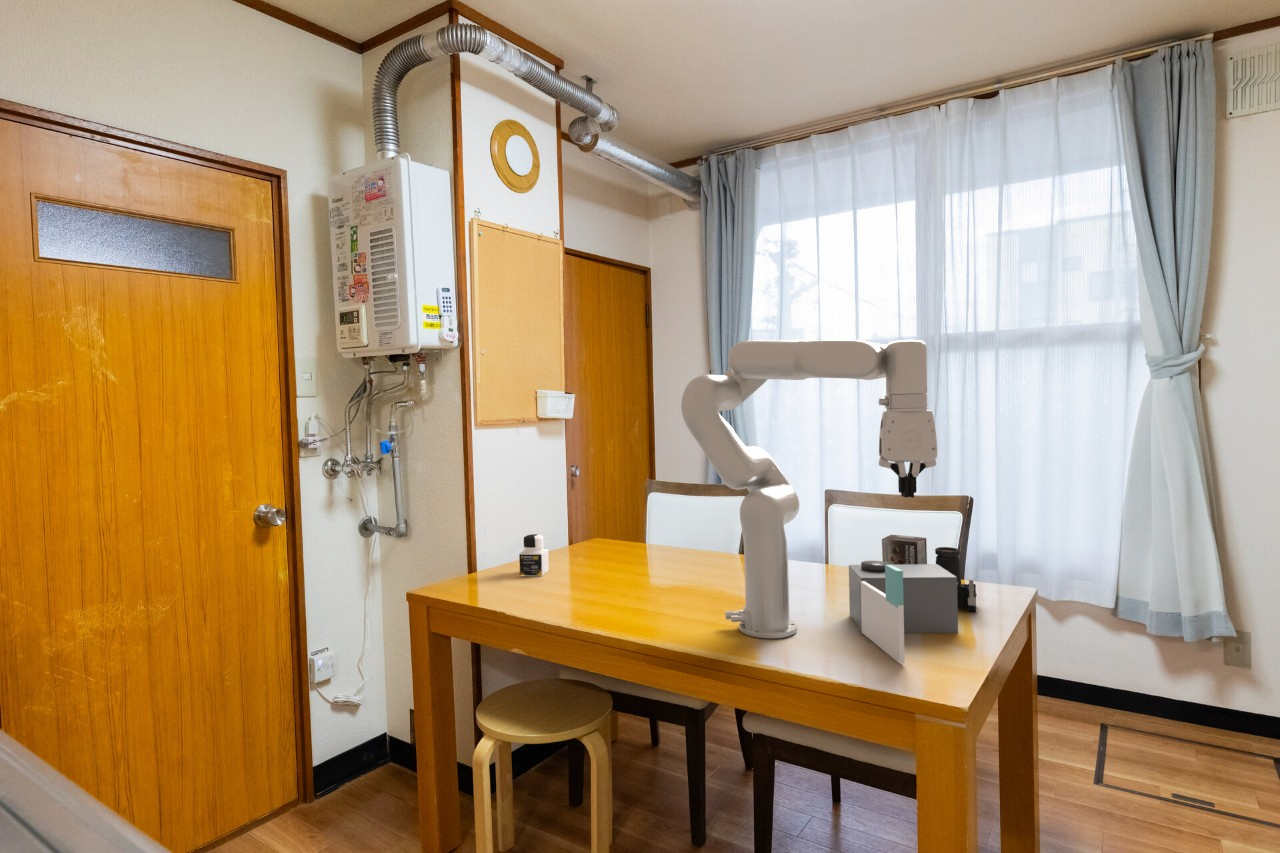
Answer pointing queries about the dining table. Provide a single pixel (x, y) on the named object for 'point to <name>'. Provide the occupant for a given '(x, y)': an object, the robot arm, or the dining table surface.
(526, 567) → the medicine bottle
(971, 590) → the scope
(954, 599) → the plain gray box
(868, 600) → the side door
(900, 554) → the coffee box
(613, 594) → the dining table surface
